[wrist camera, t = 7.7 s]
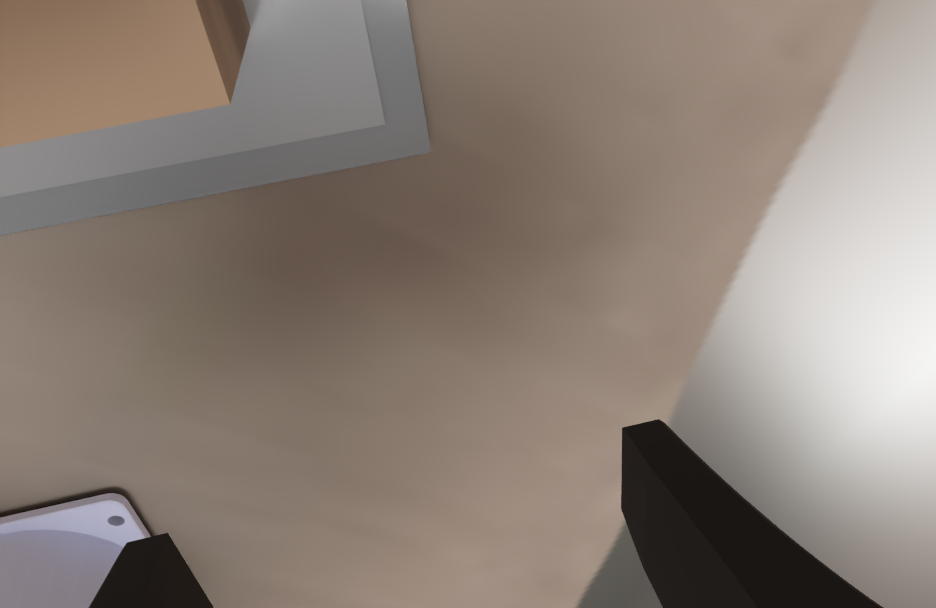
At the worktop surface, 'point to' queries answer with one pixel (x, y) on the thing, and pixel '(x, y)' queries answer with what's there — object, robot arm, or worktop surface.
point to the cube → (113, 62)
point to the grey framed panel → (242, 121)
